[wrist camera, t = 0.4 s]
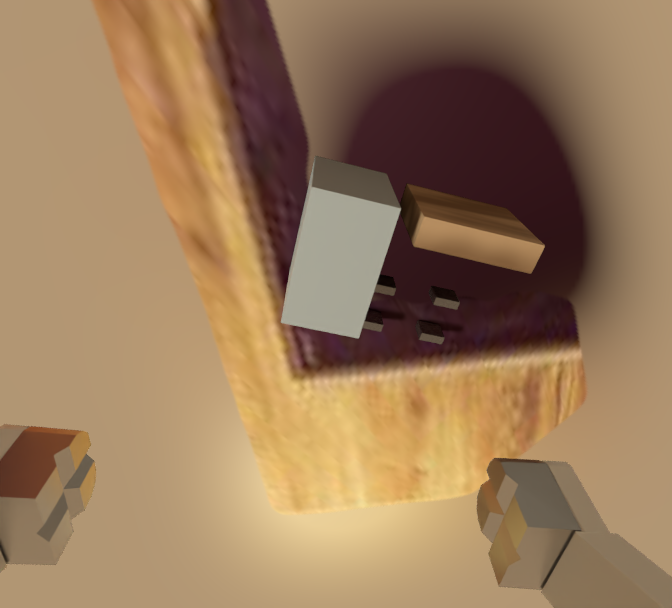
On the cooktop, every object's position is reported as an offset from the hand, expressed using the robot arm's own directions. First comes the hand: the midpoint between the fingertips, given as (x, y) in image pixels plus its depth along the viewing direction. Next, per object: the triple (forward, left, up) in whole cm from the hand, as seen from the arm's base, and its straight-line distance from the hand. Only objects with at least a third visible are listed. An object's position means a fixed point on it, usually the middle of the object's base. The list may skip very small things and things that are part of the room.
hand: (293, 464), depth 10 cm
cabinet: (+10, +4, -45) cm, 46 cm away
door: (+5, +17, -45) cm, 48 cm away
